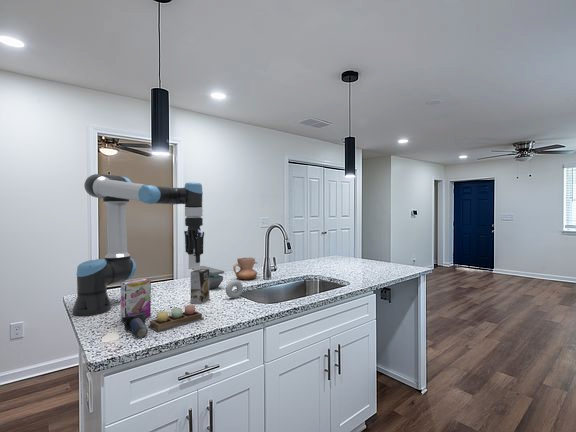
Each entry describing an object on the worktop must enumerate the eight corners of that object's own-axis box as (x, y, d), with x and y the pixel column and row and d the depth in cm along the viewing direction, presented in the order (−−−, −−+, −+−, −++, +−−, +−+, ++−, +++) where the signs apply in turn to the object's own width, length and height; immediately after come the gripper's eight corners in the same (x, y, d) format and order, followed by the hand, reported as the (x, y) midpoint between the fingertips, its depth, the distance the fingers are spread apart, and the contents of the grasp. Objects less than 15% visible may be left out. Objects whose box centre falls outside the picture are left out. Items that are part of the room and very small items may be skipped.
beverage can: (124, 334, 122) (134, 345, 113) (120, 316, 121) (129, 326, 112) (148, 324, 128) (159, 334, 119) (144, 306, 127) (155, 315, 118)
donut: (227, 300, 162) (227, 281, 162) (224, 299, 165) (224, 280, 165) (244, 297, 169) (244, 278, 168) (240, 296, 171) (240, 277, 171)
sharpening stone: (224, 289, 187) (224, 270, 187) (212, 291, 181) (212, 272, 181) (203, 282, 205) (203, 265, 205) (192, 284, 199) (192, 267, 199)
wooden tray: (148, 326, 126) (148, 320, 126) (193, 314, 140) (193, 309, 140) (157, 332, 120) (157, 326, 120) (203, 319, 134) (203, 313, 134)
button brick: (183, 312, 134) (182, 306, 134) (191, 310, 137) (191, 304, 137) (187, 314, 131) (187, 308, 131) (196, 312, 134) (196, 306, 134)
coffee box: (201, 304, 156) (201, 272, 156) (190, 303, 158) (189, 271, 157) (210, 299, 165) (209, 268, 165) (198, 298, 167) (198, 268, 166)
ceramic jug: (254, 275, 226) (253, 256, 225) (262, 279, 213) (261, 258, 213) (230, 278, 217) (229, 258, 217) (236, 282, 204) (236, 261, 204)
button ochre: (155, 319, 125) (155, 313, 125) (165, 317, 128) (165, 310, 128) (159, 322, 123) (159, 315, 123) (170, 319, 126) (170, 313, 126)
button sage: (169, 316, 130) (169, 309, 130) (179, 313, 133) (179, 307, 133) (174, 318, 127) (174, 312, 127) (183, 315, 130) (183, 309, 130)
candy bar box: (125, 323, 130) (125, 284, 129) (120, 321, 133) (119, 282, 132) (151, 316, 138) (151, 279, 138) (146, 314, 141) (145, 278, 141)
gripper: (211, 217, 137) (211, 270, 137) (191, 216, 148) (192, 265, 148) (196, 217, 131) (196, 273, 131) (177, 217, 143) (177, 268, 143)
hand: (194, 269), depth 140 cm, fingers open, 4 cm apart
